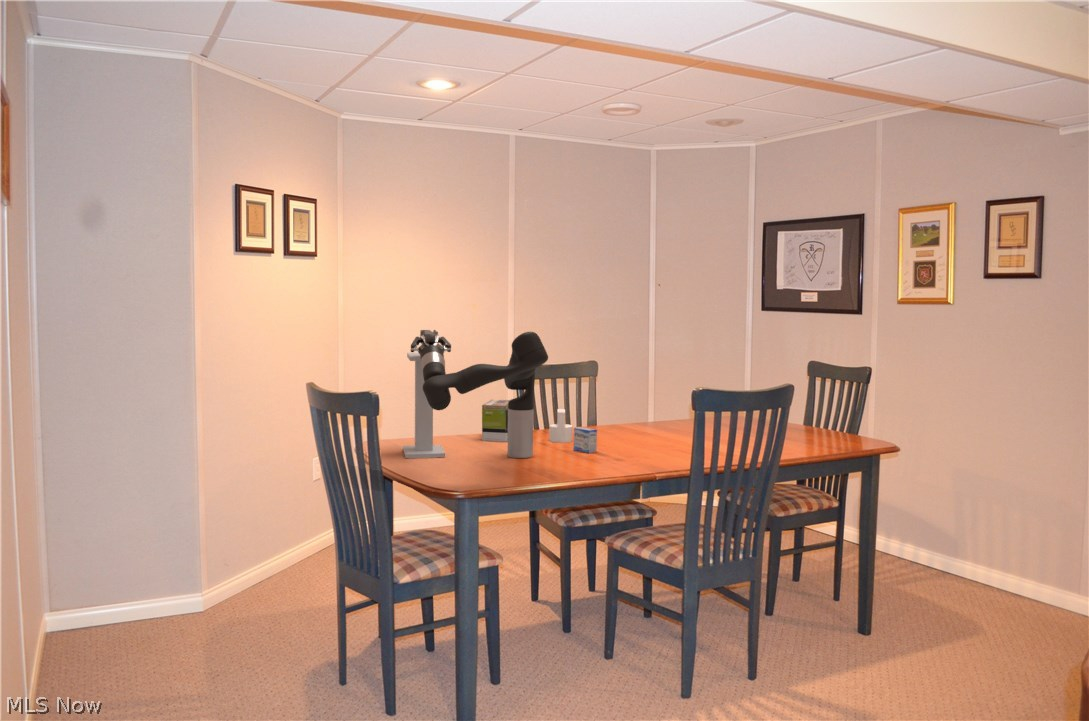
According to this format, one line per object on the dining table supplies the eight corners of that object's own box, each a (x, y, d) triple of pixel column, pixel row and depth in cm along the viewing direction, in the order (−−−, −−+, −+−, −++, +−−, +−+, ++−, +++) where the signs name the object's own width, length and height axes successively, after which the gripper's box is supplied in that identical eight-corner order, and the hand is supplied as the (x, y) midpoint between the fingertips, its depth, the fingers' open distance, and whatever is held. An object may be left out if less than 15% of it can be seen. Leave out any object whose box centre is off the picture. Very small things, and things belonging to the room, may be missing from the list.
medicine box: (573, 450, 325) (573, 427, 324) (580, 449, 328) (581, 426, 327) (589, 453, 320) (589, 430, 319) (596, 452, 323) (597, 429, 322)
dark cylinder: (436, 342, 283) (436, 334, 283) (426, 342, 282) (426, 334, 282) (429, 336, 309) (429, 329, 309) (420, 336, 308) (420, 329, 308)
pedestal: (445, 457, 308) (445, 356, 305) (405, 458, 305) (405, 356, 302) (440, 448, 324) (441, 352, 321) (402, 449, 321) (403, 352, 318)
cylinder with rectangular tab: (572, 443, 340) (572, 412, 339) (549, 442, 340) (549, 412, 339) (571, 438, 349) (572, 409, 348) (549, 438, 349) (550, 408, 348)
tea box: (491, 434, 356) (491, 398, 354) (515, 435, 354) (515, 399, 352) (481, 441, 341) (481, 403, 340) (506, 442, 339) (506, 405, 338)
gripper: (410, 371, 278) (407, 341, 292) (454, 371, 281) (449, 341, 295) (411, 352, 274) (408, 322, 288) (455, 352, 277) (450, 322, 291)
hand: (428, 332), depth 291 cm, fingers closed on dark cylinder, 3 cm apart
